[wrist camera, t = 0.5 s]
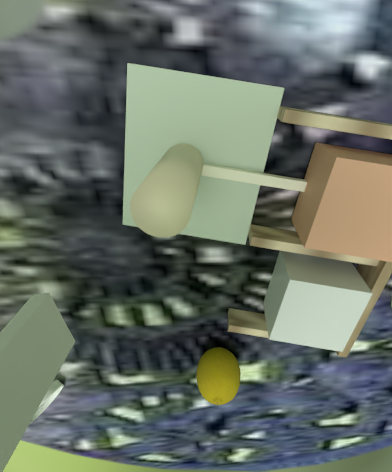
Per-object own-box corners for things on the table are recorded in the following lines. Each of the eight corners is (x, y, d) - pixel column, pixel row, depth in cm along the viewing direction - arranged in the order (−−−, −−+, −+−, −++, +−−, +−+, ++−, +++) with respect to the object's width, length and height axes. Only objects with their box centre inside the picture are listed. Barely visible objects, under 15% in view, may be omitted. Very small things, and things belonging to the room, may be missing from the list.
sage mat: (123, 223, 34) (122, 224, 34) (128, 62, 27) (127, 63, 27) (245, 243, 34) (245, 244, 34) (284, 87, 27) (284, 87, 27)
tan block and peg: (160, 198, 32) (127, 257, 22) (167, 118, 28) (132, 142, 18) (366, 232, 32) (437, 308, 21) (401, 156, 28) (507, 203, 18)
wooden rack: (227, 314, 39) (227, 337, 36) (279, 106, 28) (287, 110, 24) (335, 332, 39) (346, 357, 36) (433, 130, 27) (464, 138, 24)
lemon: (247, 349, 42) (251, 405, 35) (219, 368, 44) (218, 424, 37) (218, 328, 41) (216, 381, 33) (191, 348, 43) (184, 402, 36)
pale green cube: (262, 303, 38) (269, 339, 33) (280, 248, 34) (289, 279, 29) (326, 313, 38) (342, 351, 33) (350, 260, 34) (372, 293, 29)
